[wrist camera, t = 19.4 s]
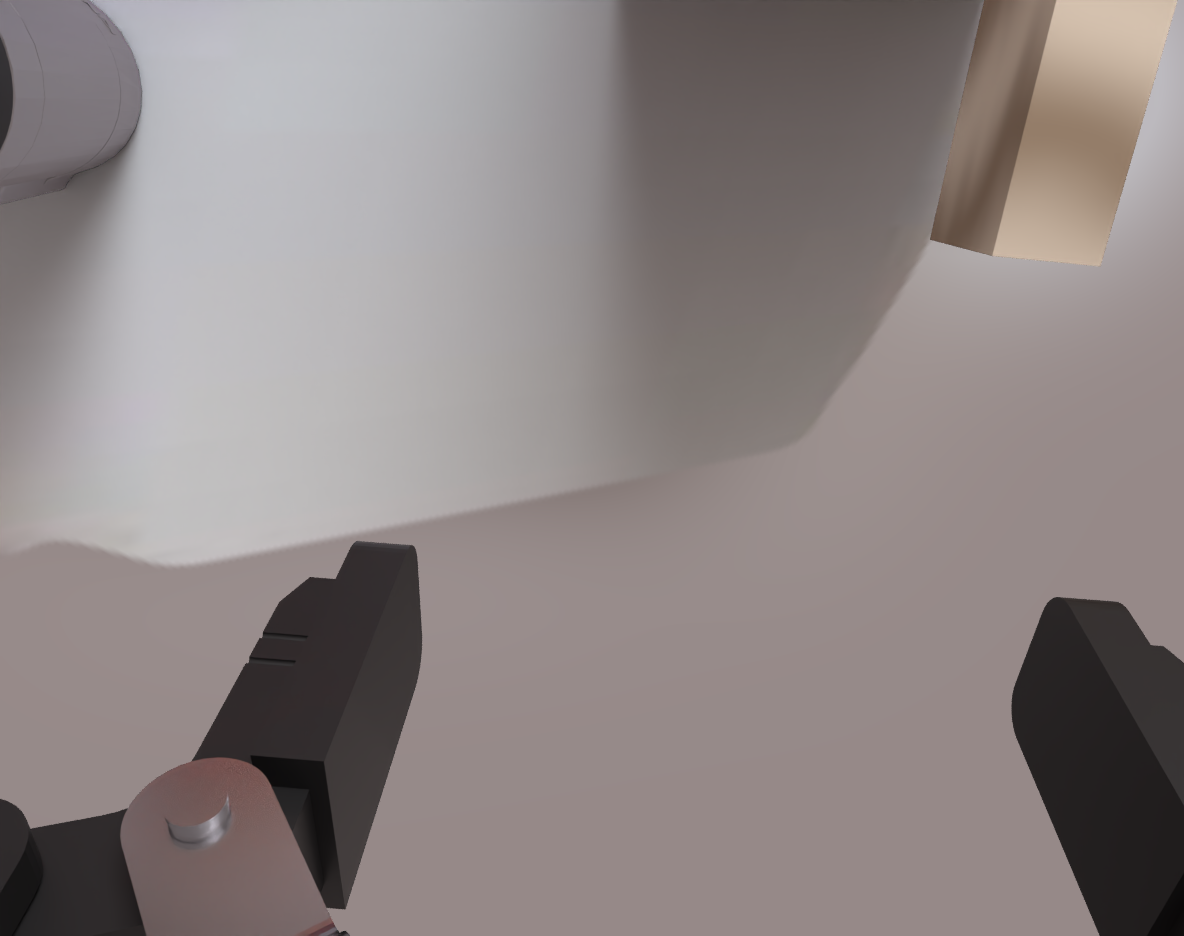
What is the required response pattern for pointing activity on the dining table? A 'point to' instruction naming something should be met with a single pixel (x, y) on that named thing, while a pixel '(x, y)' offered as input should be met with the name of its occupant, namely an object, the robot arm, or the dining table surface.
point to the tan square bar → (1049, 126)
